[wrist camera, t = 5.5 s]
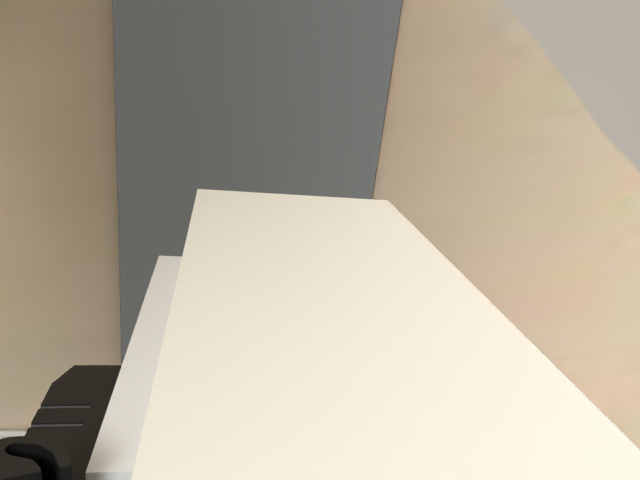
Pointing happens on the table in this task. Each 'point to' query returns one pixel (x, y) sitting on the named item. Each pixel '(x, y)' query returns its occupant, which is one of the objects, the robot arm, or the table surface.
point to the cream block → (352, 359)
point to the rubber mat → (240, 111)
